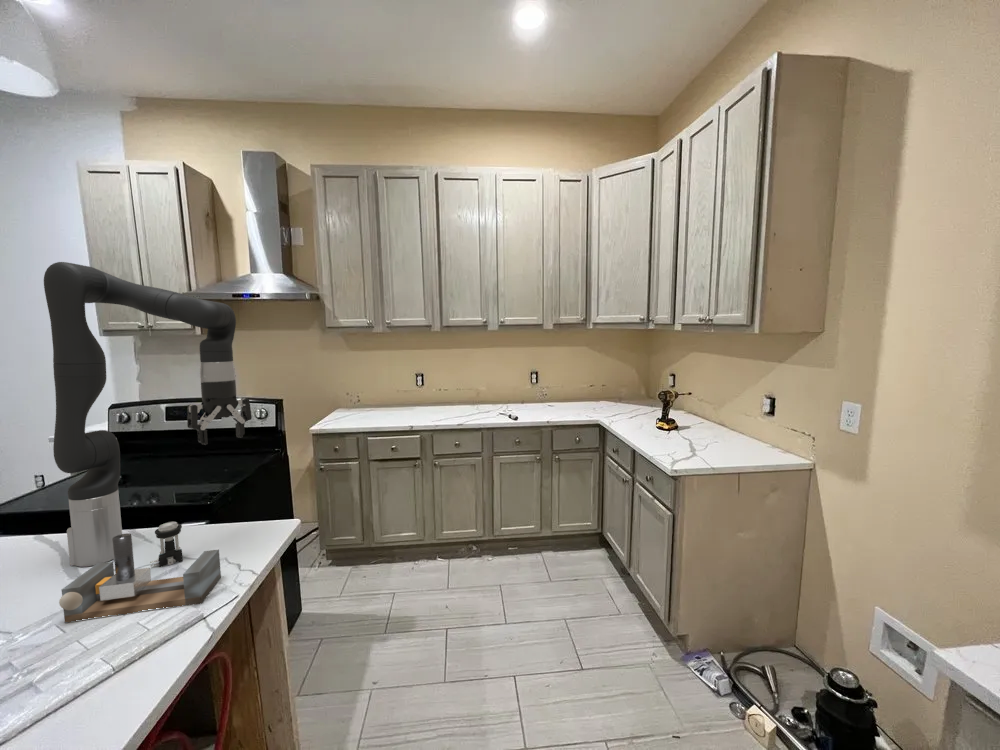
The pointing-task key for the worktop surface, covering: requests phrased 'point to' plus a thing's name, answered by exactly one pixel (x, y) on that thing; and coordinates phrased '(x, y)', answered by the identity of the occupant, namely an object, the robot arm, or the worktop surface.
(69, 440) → the robot arm
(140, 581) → the carriage
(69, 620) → the rail base
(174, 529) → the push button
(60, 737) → the worktop surface
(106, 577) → the orange block
